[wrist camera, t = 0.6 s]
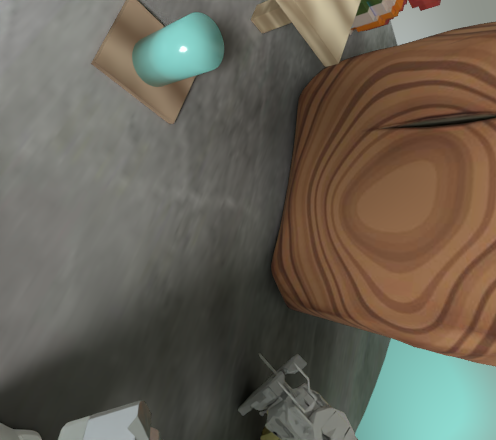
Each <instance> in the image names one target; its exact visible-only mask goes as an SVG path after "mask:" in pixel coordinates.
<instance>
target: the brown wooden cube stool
mask: <svg viewBox="0 0 496 440" xmlns="http://www.w3.org/2000/svg"><path fill="white" fill-rule="evenodd" d="M271 270H272V275H273V278H274V280H275V282H276V284H277V286H278V288H279V291H280V293H281V295H282V297H283V299H284V302H285V304H286V305H287V307H288V308H290V309H292V310H295V311H299V312H302V313H306V314H309V315H313V316H317V317H320V318H324V319H327V320H331V321H334V322H337V323H341V324H344V325H348V326H351V327H355V328H358V329H362V330H365V331H369V332H372V333H376V334H379V335H383V336H386V337H389V338H393V339H396V340H398V341H401V342H403V343H406V344H408V345H411V346H413V347H417V348H422V349H426V350H429V351H432V352H436V353H440V354H443V355H447V356H453V357H457V358H461V359H465V360H469V361H472V362H476V363H481V364H486V365H492V366H496V22H491V23H484V24H478V25H473V26H469V27H463V28H458V29H454V30H451V31H447V32H443V33H440V34H436V35H433V36H429V37H426V38H423V39H420V40H416V41H413V42H409V43H406V44H402V45H399V46H394V47H390V48H385V49H380V50H376V51H372V52H369V53H365V54H361V55H358V56H355V57H352V58H348V59H345V60H343V61H340V62H339V64H335V65H331V66H328V67H326V68H324V69H323V70H322V71H321V72H319V73H318V74H317V75H316V76H315V77H314V78H313V79H312V80H311V81H310V82H309V83H308V85H307V86H306V87H305V88H304V89H303V91H302V93H301V95H300V97H299V101H298V109H297V122H296V132H295V141H294V148H293V155H292V162H291V169H290V175H289V182H288V188H287V193H286V199H285V204H284V210H283V215H282V221H281V225H280V230H279V234H278V238H277V242H276V246H275V250H274V254H273V259H272V263H271Z"/></svg>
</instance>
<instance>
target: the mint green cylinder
mask: <svg viewBox="0 0 496 440" xmlns="http://www.w3.org/2000/svg"><path fill="white" fill-rule="evenodd" d="M223 55H224V42H223V38H222V35H221V32H220V30H219V28H218V26H217V25H216V23H215V22H214V21H213V20H212V19H211V18H210V17H209V16H207V15H205V14H203V13H199V12H194V13H191V14H189V15H187V16H185V17H183V18H181V19H179V20H177V21H175V22H173V23H171V24H169V25H168V26H166V27H164V28H162V29H160V30H158V31H156V32H154V33H152V34H150V35H148V36H146V37H144V38H142V39H140V40H139V41H138V42H137V43H136V44H135V46H134V48H133V52H132V61H133V65H134V68H135V71H136V72H137V74H138V76H139V77H140V78H141V79H142V80H143V81H144V82H145V83H147V84H148V85H150V86H153V87H162V86H165V85H168V84H171V83H174V82H178V81H181V80H184V79H187V78H190V77H193V76H196V75H199V74H202V73H205V72H208V71H212V70H214V69H216V68H217V67H218V66H219V65H220V63H221V62H222V59H223Z"/></svg>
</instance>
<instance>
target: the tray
mask: <svg viewBox="0 0 496 440" xmlns="http://www.w3.org/2000/svg"><path fill="white" fill-rule="evenodd" d="M162 28H164V26H163V25H162V24H161V23H160V22H159V21H158V20H157V19H156V18H155V17H154V16H153V15H152V14H151V13H150V12H149V11H148V10H147V9H146V8H145V7H144V6H142V5H141V4H140V3H139V2H138V1H137V0H126V1H125V3H124V5H123V7H122V9H121V10H120V12H119V14H118V16H117V18H116V19H115V21H114V23H113V25H112V27H111V29H110V30H109V32H108V34H107V36H106V38H105V39H104V41H103V43H102V45H101V47H100V49H99V50H98V52H97V54H96V56H95V58H94V59H93V61H92V63H91V64H92V65H94V66H95V67H96V68H97V69H99V70H100V71H101V72H103V73H104V74H105V75H107V76H108V77H109V78H110V79H112V80H113V81H114V82H116V83H117V84H118V85H119V86H121V87H122V88H123V89H125V90H126V91H127V92H129V93H130V94H131V95H132V96H134V97H135V98H136V99H138V100H139V101H140V102H141V103H143V104H144V105H145V106H147V107H148V108H149V109H151V110H152V111H153V112H154V113H156V114H157V115H158V116H160V117H161V118H162V119H163V120H165V121H166V122H167V123H169V124H174V122H175V120H176V118H177V116H178V114H179V111H180V109H181V107H182V105H183V103H184V100H185V98H186V96H187V94H188V92H189V90H190V87H191V85H192V83H193V81H194V79H195V77H196V76H193V77H190V78H187V79H184V80H181V81H178V82H174V83H171V84H168V85H165V86H162V87H153V86H150V85H148V84H147V83H145V82H144V81H143V80H142V79H141V78H140V77H139V76H138V74H137V72H136V71H135V68H134V65H133V61H132V52H133V48H134V46H135V44H136V43H137V42H138V41H139V40H140V39H142V38H144V37H146V36H148V35H150V34H152V33H154V32H156V31H158V30H160V29H162Z"/></svg>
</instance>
